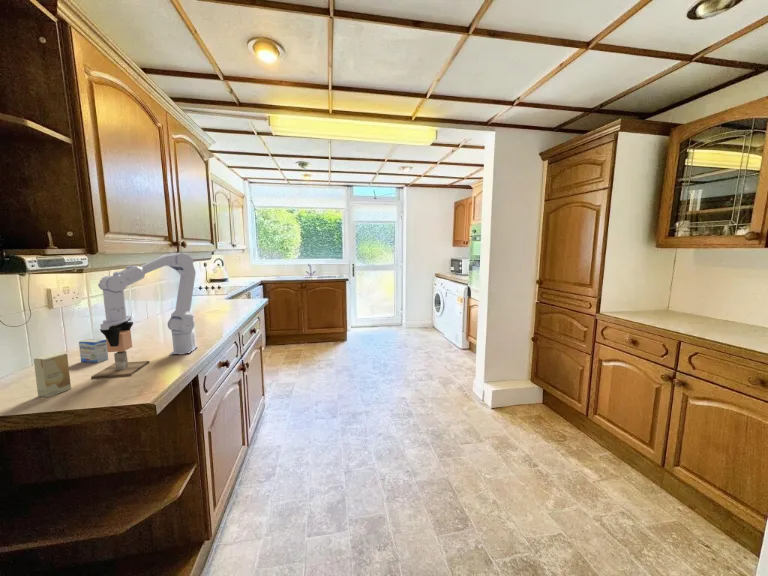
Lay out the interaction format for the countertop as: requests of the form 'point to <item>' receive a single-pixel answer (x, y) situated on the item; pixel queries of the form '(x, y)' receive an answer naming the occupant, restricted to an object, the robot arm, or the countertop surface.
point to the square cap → (121, 342)
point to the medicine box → (93, 350)
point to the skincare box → (52, 374)
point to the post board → (120, 372)
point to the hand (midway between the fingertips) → (119, 343)
